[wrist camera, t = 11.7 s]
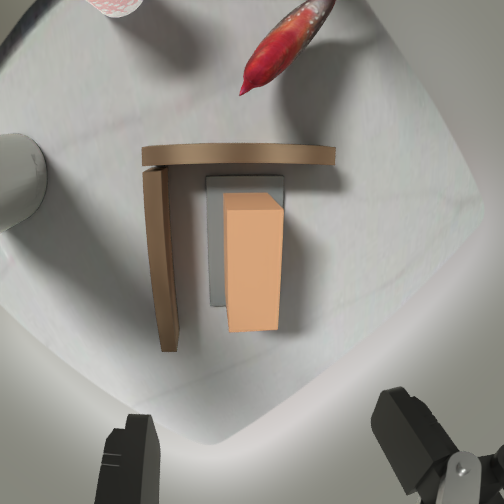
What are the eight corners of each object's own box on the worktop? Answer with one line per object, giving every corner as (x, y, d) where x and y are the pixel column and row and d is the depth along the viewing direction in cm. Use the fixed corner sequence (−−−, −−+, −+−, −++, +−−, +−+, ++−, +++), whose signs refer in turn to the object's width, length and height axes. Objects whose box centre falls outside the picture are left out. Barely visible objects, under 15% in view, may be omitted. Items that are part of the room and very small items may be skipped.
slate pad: (210, 304, 33) (210, 306, 33) (206, 176, 28) (206, 176, 28) (277, 301, 34) (278, 303, 33) (282, 175, 29) (283, 176, 29)
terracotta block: (223, 193, 29) (226, 210, 22) (267, 192, 29) (283, 209, 23) (224, 292, 32) (229, 332, 26) (264, 291, 33) (277, 329, 26)
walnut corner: (165, 329, 33) (161, 351, 30) (150, 145, 27) (141, 147, 23) (306, 322, 35) (317, 343, 32) (320, 145, 29) (335, 147, 25)
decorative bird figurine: (219, 97, 26) (222, 77, 17) (328, -22, 22) (370, -67, 13) (245, 115, 27) (262, 105, 18) (350, -5, 23) (399, -44, 14)
